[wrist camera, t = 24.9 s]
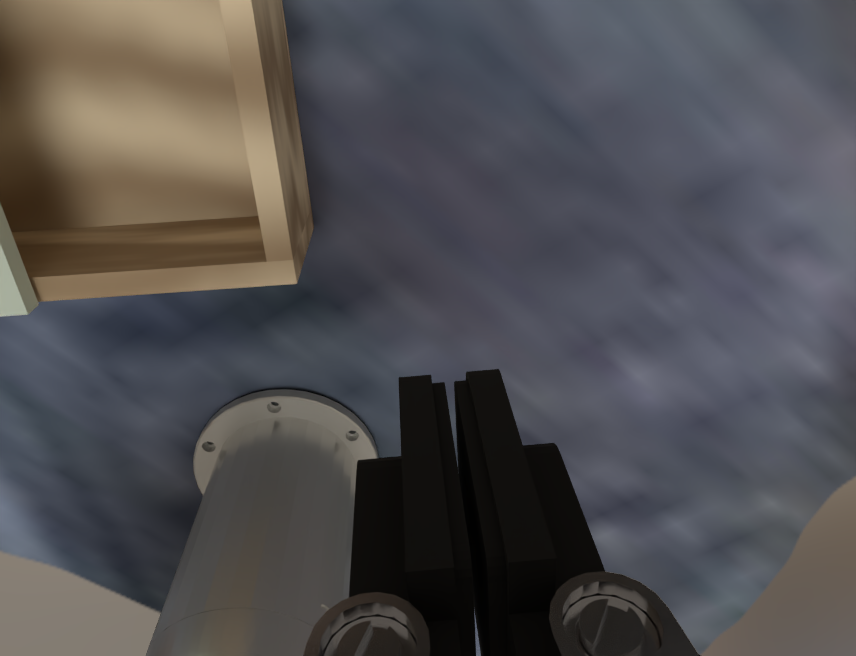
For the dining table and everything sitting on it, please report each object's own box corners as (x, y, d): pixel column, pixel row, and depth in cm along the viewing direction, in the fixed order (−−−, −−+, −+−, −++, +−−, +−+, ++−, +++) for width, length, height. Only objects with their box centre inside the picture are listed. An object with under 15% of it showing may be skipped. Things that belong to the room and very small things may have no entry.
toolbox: (313, 227, 37) (296, 283, 30) (-2, 248, 36) (-97, 311, 29) (259, -160, 28) (217, -210, 21) (-155, -140, 28) (-341, -184, 21)
